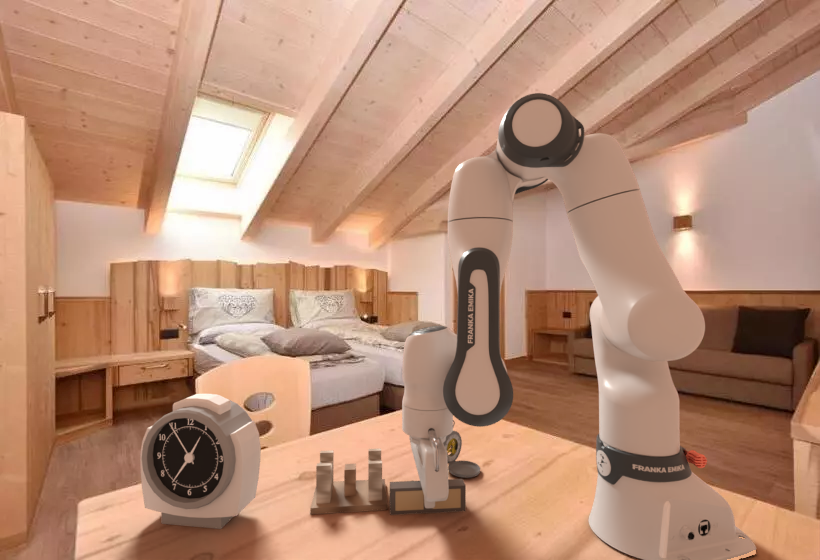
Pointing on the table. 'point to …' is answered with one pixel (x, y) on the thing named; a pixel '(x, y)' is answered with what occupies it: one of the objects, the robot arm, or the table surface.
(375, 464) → the display stand
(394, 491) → the long grey beam
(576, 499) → the table surface
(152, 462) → the alarm clock
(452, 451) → the pocket watch
